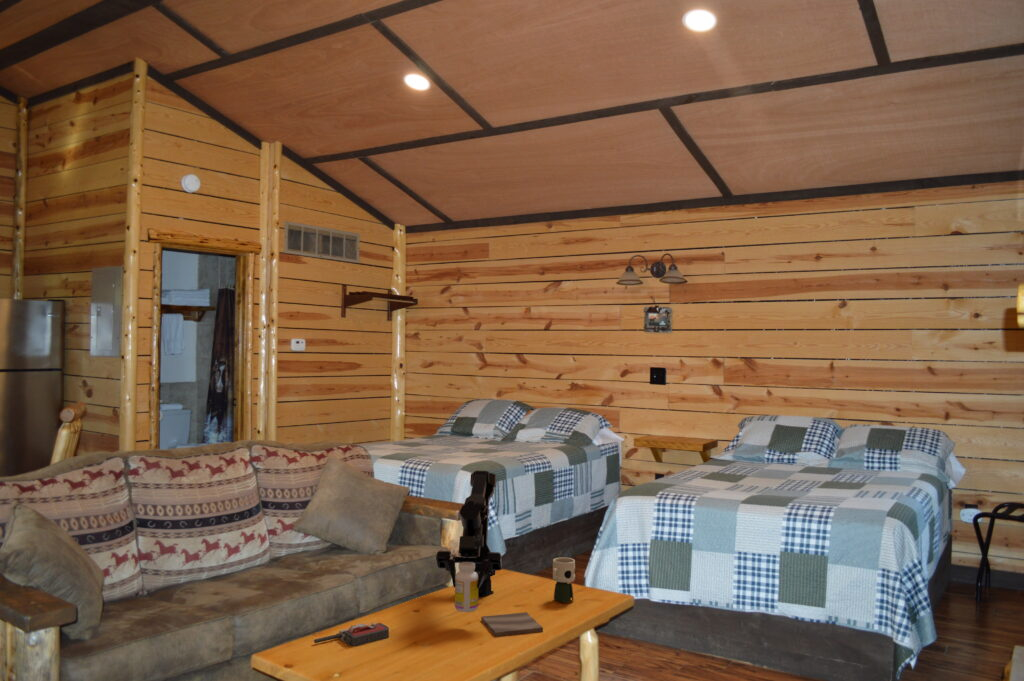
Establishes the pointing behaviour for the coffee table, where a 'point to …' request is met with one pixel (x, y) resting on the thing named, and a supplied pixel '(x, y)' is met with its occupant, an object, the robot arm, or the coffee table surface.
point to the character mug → (563, 578)
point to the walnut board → (511, 624)
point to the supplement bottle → (466, 588)
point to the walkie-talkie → (360, 634)
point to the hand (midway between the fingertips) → (466, 587)
